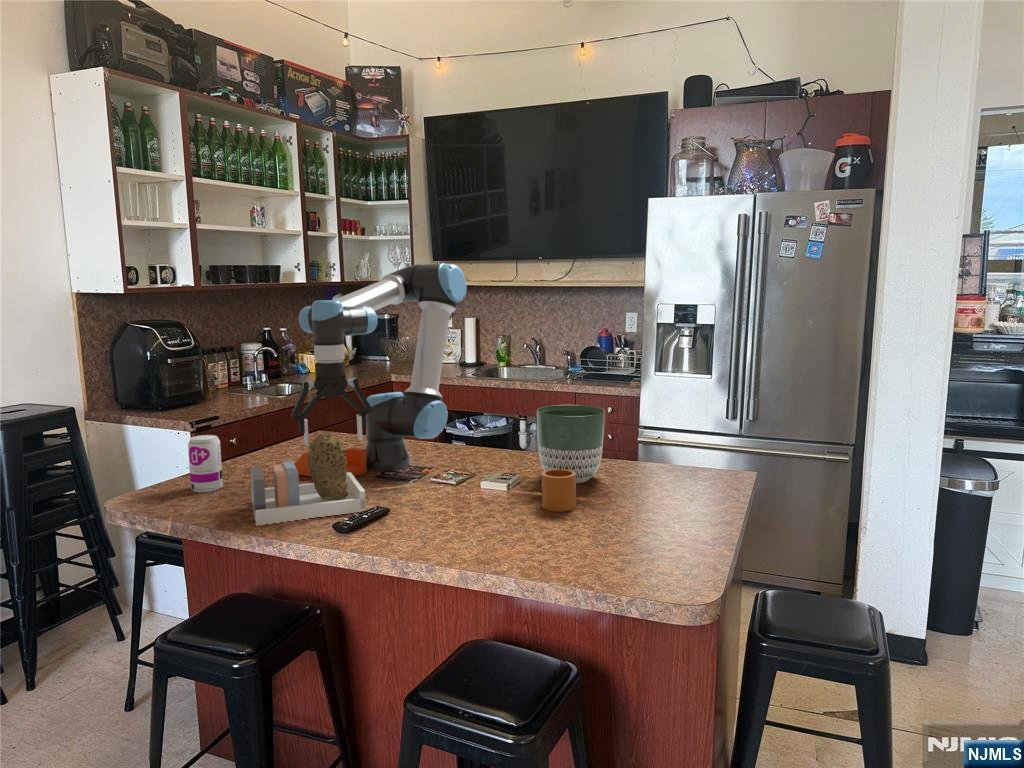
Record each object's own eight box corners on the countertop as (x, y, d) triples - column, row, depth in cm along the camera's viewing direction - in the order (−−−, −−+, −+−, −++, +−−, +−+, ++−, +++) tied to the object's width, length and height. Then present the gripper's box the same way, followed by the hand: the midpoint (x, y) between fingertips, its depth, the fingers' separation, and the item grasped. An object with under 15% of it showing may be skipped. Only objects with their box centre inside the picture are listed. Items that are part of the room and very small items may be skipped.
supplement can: (211, 494, 190) (207, 441, 188) (184, 492, 191) (181, 439, 189) (228, 486, 198) (225, 435, 196) (203, 484, 199) (199, 433, 197)
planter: (526, 488, 195) (527, 413, 192) (549, 471, 213) (549, 403, 210) (593, 495, 188) (594, 418, 185) (611, 477, 206) (612, 407, 203)
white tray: (351, 491, 193) (350, 472, 192) (365, 512, 174) (364, 490, 174) (251, 502, 182) (250, 482, 182) (256, 525, 164) (255, 503, 163)
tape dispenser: (366, 476, 210) (365, 449, 209) (336, 486, 199) (335, 457, 198) (323, 468, 219) (323, 442, 218) (292, 477, 208) (291, 450, 207)
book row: (294, 497, 183) (292, 461, 182) (300, 512, 171) (298, 472, 170) (274, 500, 181) (272, 462, 180) (279, 514, 169) (277, 474, 168)
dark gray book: (262, 498, 180) (260, 466, 179) (266, 513, 168) (264, 479, 167) (252, 499, 179) (250, 467, 178) (255, 515, 167) (253, 480, 166)
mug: (585, 501, 183) (585, 468, 182) (568, 514, 173) (569, 479, 171) (553, 496, 187) (554, 464, 186) (536, 509, 177) (536, 475, 175)
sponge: (307, 499, 182) (293, 431, 175) (330, 486, 188) (318, 419, 180) (340, 512, 174) (327, 441, 167) (363, 498, 180) (351, 429, 173)
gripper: (375, 357, 184) (378, 434, 188) (277, 362, 175) (282, 444, 178) (381, 359, 178) (384, 440, 181) (279, 365, 168) (285, 450, 171)
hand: (333, 442), depth 179 cm, fingers open, 13 cm apart
